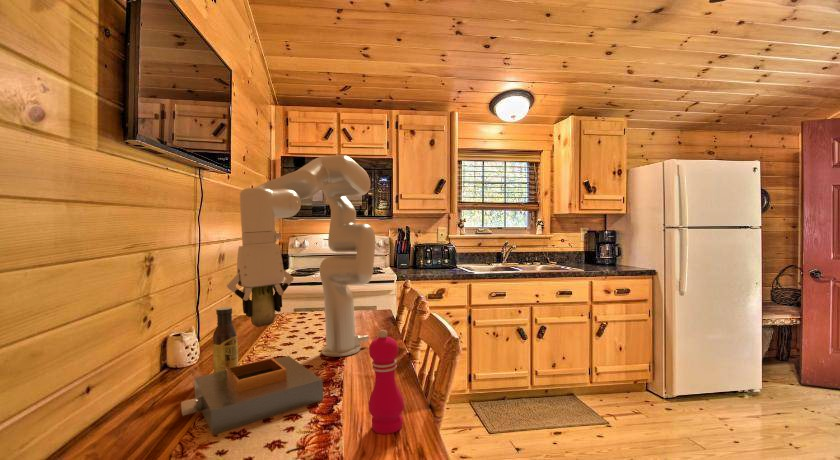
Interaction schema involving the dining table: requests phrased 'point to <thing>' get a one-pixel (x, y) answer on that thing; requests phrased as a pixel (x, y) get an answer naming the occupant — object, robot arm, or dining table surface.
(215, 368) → the sauce bottle
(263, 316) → the fennel bulb
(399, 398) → the pepper mill
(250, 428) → the dining table surface
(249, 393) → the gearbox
